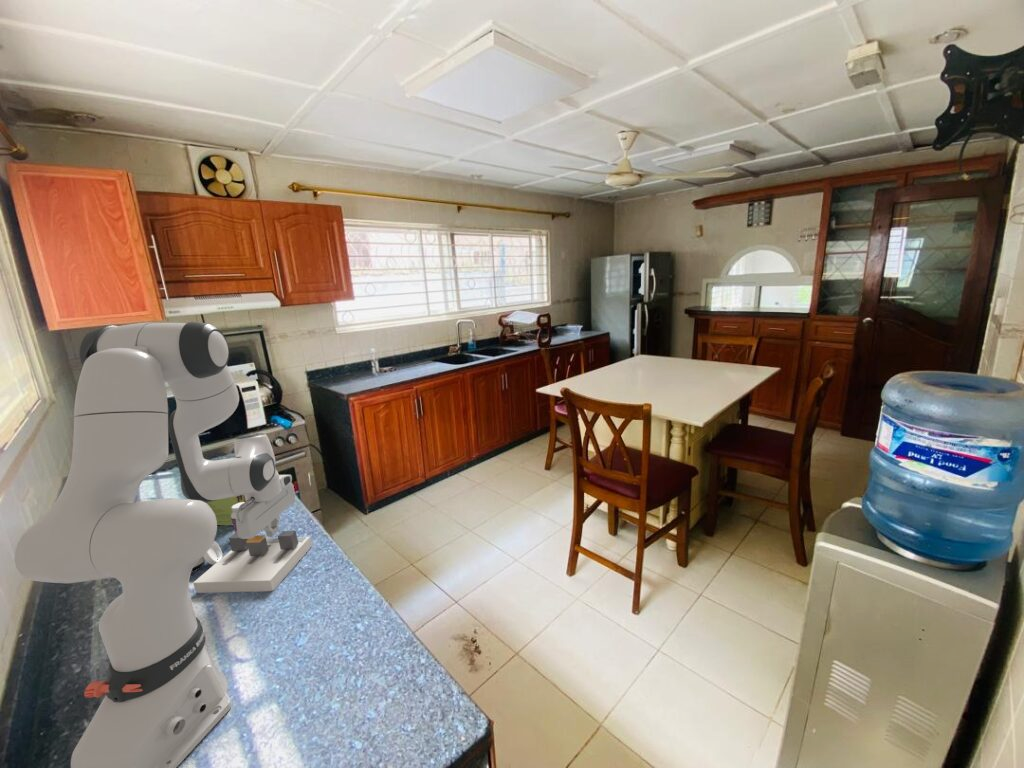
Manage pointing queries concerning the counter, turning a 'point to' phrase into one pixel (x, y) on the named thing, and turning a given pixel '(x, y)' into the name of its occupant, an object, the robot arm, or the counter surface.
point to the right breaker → (288, 540)
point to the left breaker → (238, 543)
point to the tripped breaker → (257, 545)
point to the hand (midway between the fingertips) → (273, 533)
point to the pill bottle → (233, 515)
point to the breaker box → (252, 569)
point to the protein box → (225, 508)
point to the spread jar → (209, 556)
